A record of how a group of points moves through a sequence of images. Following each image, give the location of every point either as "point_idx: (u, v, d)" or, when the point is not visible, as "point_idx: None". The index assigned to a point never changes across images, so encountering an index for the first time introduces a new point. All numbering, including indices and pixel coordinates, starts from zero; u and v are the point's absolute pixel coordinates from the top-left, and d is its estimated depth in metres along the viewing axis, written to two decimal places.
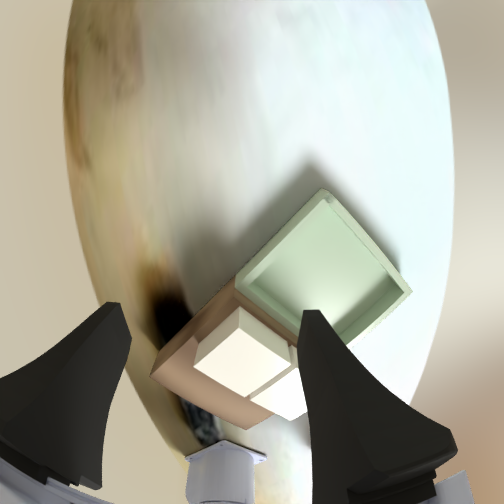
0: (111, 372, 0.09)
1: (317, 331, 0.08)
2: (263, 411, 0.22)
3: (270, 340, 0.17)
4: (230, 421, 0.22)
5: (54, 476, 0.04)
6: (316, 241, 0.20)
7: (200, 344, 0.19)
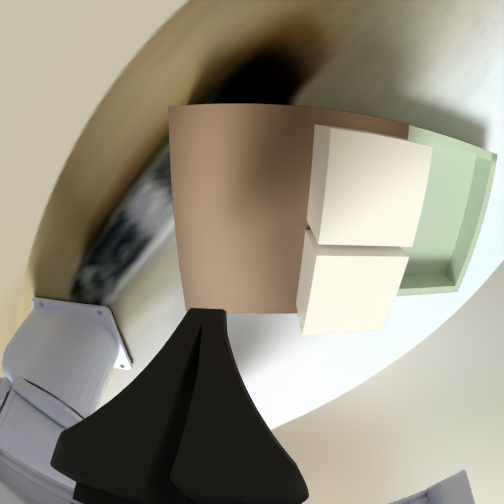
0: None
1: (205, 330, 0.08)
2: (248, 298, 0.15)
3: None
4: (185, 280, 0.15)
5: None
6: (451, 174, 0.14)
7: (323, 125, 0.10)
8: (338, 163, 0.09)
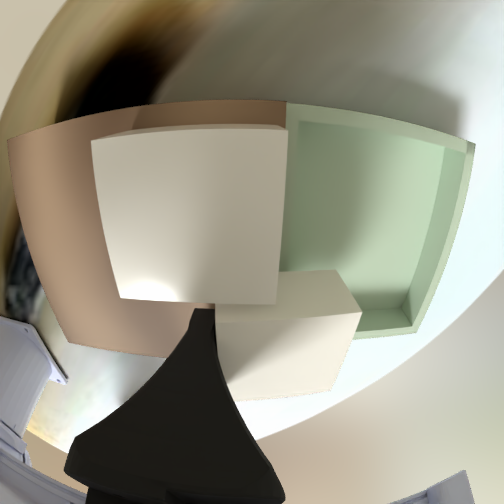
0: None
1: (192, 330, 0.08)
2: (114, 337, 0.12)
3: None
4: (56, 313, 0.11)
5: None
6: (402, 175, 0.11)
7: (135, 130, 0.07)
8: (110, 189, 0.06)
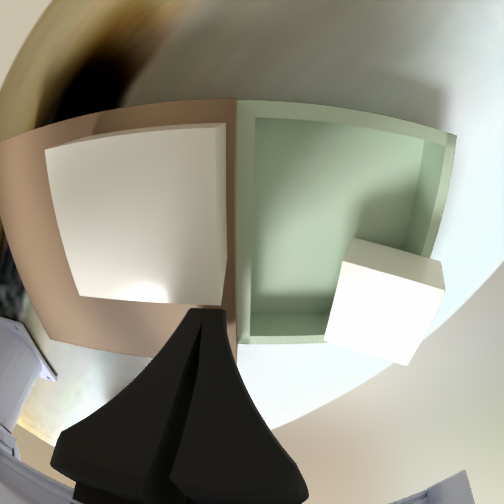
0: None
1: (206, 330, 0.08)
2: (89, 335, 0.12)
3: (222, 226, 0.07)
4: (37, 311, 0.11)
5: None
6: (376, 170, 0.11)
7: (93, 135, 0.07)
8: (62, 194, 0.06)
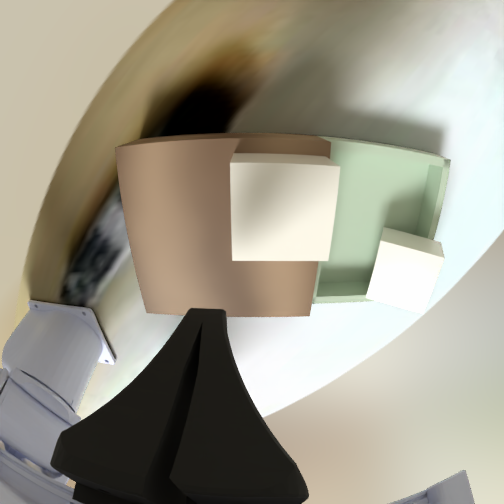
0: None
1: (205, 330, 0.08)
2: (194, 303, 0.17)
3: None
4: (142, 287, 0.17)
5: None
6: (398, 182, 0.16)
7: (240, 154, 0.12)
8: (240, 192, 0.11)
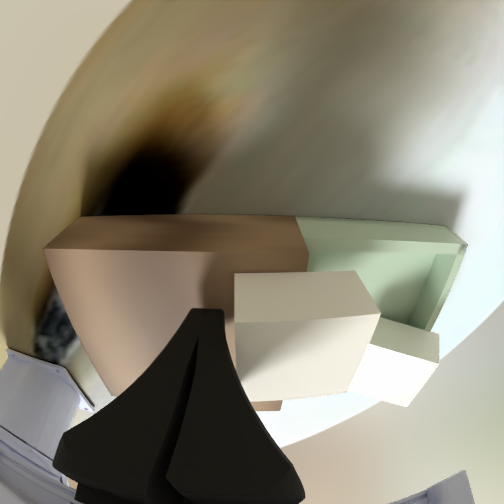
0: None
1: (203, 330, 0.08)
2: None
3: None
4: (102, 377, 0.14)
5: None
6: (399, 268, 0.13)
7: (243, 279, 0.09)
8: (248, 350, 0.08)
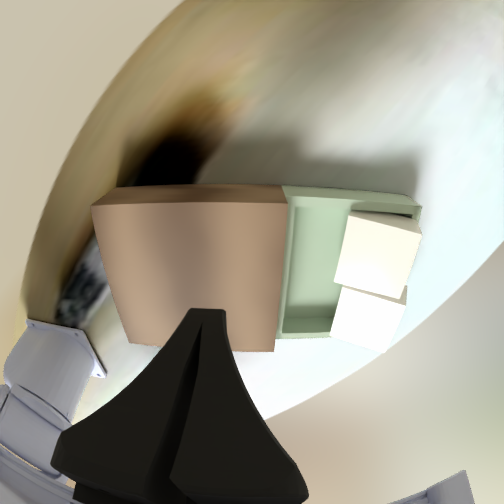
0: None
1: (205, 331, 0.08)
2: (169, 337, 0.18)
3: None
4: (124, 323, 0.18)
5: None
6: None
7: (416, 230, 0.14)
8: None
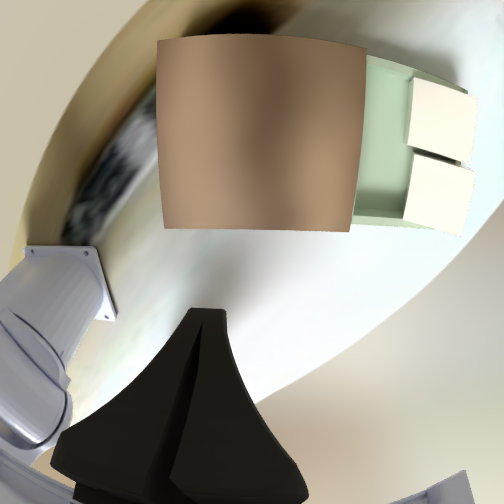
0: None
1: (205, 331, 0.08)
2: (223, 211, 0.15)
3: (407, 117, 0.14)
4: (164, 193, 0.15)
5: None
6: None
7: (471, 97, 0.11)
8: None
